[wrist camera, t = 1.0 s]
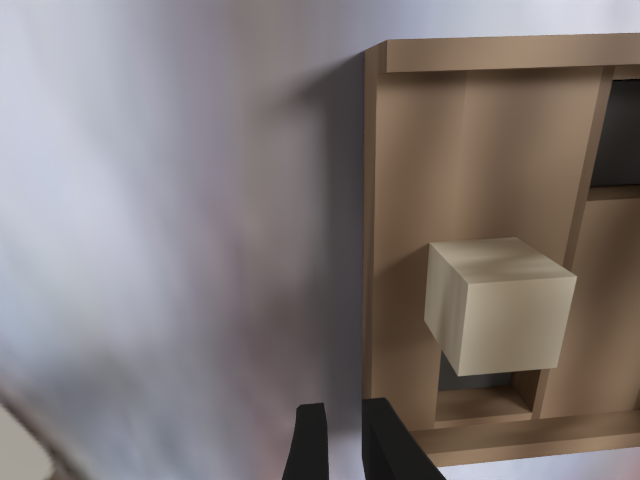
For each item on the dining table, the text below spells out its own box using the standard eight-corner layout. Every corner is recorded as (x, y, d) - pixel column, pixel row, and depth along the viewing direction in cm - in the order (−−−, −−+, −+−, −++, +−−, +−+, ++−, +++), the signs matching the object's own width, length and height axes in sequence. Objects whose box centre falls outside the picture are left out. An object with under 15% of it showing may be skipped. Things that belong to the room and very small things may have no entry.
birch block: (516, 237, 18) (577, 276, 14) (504, 314, 19) (556, 367, 16) (429, 242, 18) (468, 283, 14) (423, 320, 19) (458, 376, 15)
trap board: (754, 39, 18) (939, 19, 13) (640, 388, 25) (731, 464, 20) (364, 50, 17) (399, 33, 12) (361, 414, 24) (383, 501, 19)
